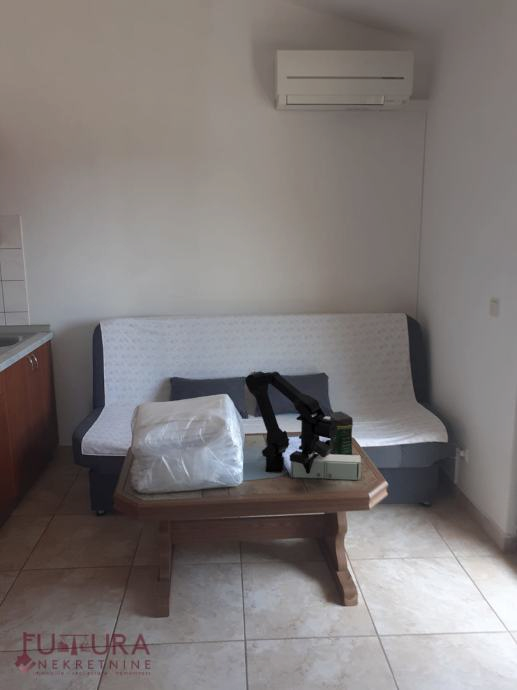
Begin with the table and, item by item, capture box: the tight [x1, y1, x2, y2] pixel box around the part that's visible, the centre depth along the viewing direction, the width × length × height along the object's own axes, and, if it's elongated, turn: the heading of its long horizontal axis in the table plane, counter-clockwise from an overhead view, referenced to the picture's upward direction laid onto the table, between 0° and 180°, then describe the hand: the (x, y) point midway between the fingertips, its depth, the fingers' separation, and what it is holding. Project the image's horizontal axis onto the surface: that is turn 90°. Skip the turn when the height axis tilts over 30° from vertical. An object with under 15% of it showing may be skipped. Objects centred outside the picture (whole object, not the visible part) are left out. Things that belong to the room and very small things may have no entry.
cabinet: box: [314, 453, 362, 481], centre depth 211 cm, size 26×8×7 cm, turn 83°
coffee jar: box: [329, 411, 354, 455], centre depth 226 cm, size 10×8×19 cm
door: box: [290, 461, 325, 479], centre depth 209 cm, size 12×2×7 cm, turn 84°
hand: (308, 473), depth 207 cm, fingers closed
